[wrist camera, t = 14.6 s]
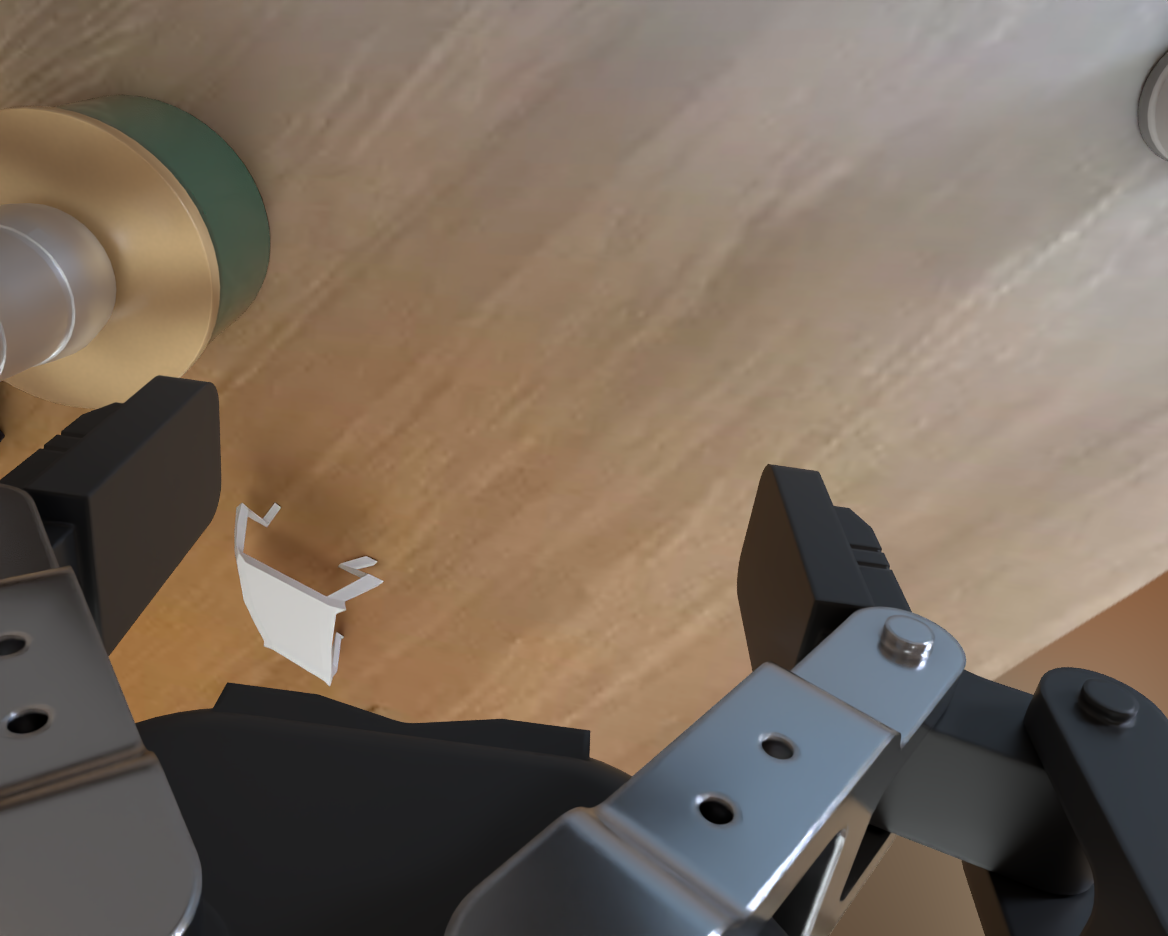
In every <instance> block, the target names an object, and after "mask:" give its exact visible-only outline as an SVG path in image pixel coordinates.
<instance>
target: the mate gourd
mask: <svg viewBox="0 0 1168 936" xmlns="http://www.w3.org/2000/svg"><path fill="white" fill-rule="evenodd" d="M4 436H5V435H4V434H3V433H2V432H1V431H0V442H1V440H2V439H3V438H4Z"/></svg>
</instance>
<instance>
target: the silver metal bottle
mask: <svg viewBox="0 0 1168 936" xmlns="http://www.w3.org/2000/svg"><path fill="white" fill-rule="evenodd" d="M115 300H116V281H115V274H114V271H113V268H112V265H111V261H110V259H109V257H108V255H107V253H106V251H105V249H104V248H103V246H102V245H101V244H100V242H99V241H98V239H97V238H96V237H95V235H94V234H93V233H92V232H91V231H90V230H89V229H88V228H87V227H86V226H85V225H84V224H82V223H81V222H79V221H78V220H77V219H75V218H74V217H72V216H71V215H69V214H67V213H65V212H63V211H61V210H59V209H57V208H54V207H50V206H47V205H43V204H34V203H18V204H4V205H0V382H1V381H3V380H5V379H7V378H9V377H12V376H14V375H16V374H18V373H20V372H22V371H25V370H27V369H29V368H31V367H34V366H38V365H43V364H46V363H49V362H53V361H56V360H58V359H61V358H64V357H66V356H69V355H71V354H74V353H76V352H78V351H79V350H81V349H83V348H84V347H86V346H87V345H88V344H89V343H90V342H91V341H92V340H93V339H94V338H95V337H96V335H97V334H98V333H99V332H100V331H101V329H102V328H103V327H104V326H105V324H106V323H107V321H108V319H109V318H110V316H111V314H112V311H113V308H114V305H115Z"/></svg>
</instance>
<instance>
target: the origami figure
mask: <svg viewBox="0 0 1168 936" xmlns="http://www.w3.org/2000/svg"><path fill="white" fill-rule="evenodd" d="M280 508H281V507H280V506H279V505H277V504H276V503H274V505H273V506H272V507H271V509H270V510H269V511H268V513H267V514H266V515H265V517H264V518H263V519H262V518H260V517H259V516H258V515H257V514H255V513H254V512H253V511H252V510H250V509H249V508H248V507H247V506H245V505H244V504H243V503H241V504H240V505H239V506H238V507H237V508H236V520H235V556H236V561H237V567H238V572H239V577H240V582H241V587H242V593H243V599H244V602H245V604H246V606H247V608H248V610H249V612H250V614H251V617H252V619H253V621H254V623H255V624H256V626H257V628H258V630H259V632H260V634H261V636H262V638H263V640H264V646H265V647H268V648H270V649H273V650H274V651H276V652H278V653H279V654H281V655H283V656H284V657H286V658H288V659H289V660H291V661H293V662H294V663H296V664H297V665H299V666H301V667H302V668H304V669H306V670H307V671H309V672H311V673H312V674H314V675H316V676H317V677H319V678H321V679H322V680H324V681H325V682H326V683H327V684H328V685H329V687H330V685H331V682H332V679H333V676H334V675H335V673H336V672H337V668H338V660H339V652H340V643H341V639H343V638H344V637H343V636H342V635H340V634H339V633H337V632H336V635H335V639H334V643H333V647H332V639H333V632H334V625H335V618H336V614H337V613H340V612H342V611H345V610H346V607H345V601H347V600H349V599H352V598H354V597H356V596H358V595H360V594H362V593H364V592H367V591H369V590H371V589H373V588H375V587H377V586H379V585H380V584H381V583H383V582H384V581H382V580H380V579H378V578H376V577H374V576H372V575H370V574H367V573H364V572H362V571H359V570H356V569H360V568H365V567H369V566H373V565H375V564H376V563H377V561H375V560H373V559H371V558H369V557H367V556H365V557H361V558H358V559H354V560H351V561H347V562H344V563H340V565H339V566H338V567H340V568H342V569H344V570H345V571H347V572H350V573H352V574H354V575H356V576H358V577H360V578H361V579H359V580H357V581H355V582H353V583H351V584H350V585H348V586H346V587H344V588H342V589H340V590H338V591H336V592H335V593H333V594H331V595H329V596H327V597H326V596H324V595H322V594H321V593H319V592H317V591H315V590H313V589H311V588H309V587H307V586H305V585H303V584H302V583H300V582H298V581H296V580H294V579H292V578H290V577H288V576H286V575H284V574H283V573H281V572H279V571H277V570H275V569H273V568H271V567H269V566H267V565H265V564H263V563H262V562H260V561H258V560H256V559H254V558H252V557H250V556H248V555H246V554H244V553H243V548H244V540H245V532H246V524H247V517H250V518H251V519H253V520H255V521H257V522H258V523H260V524H262V525H264V526H265V527H268V525H269V524H270V522H271V521H272V520H273V518H274V517H275V515H276V514H277V513H278V511H279V510H280Z"/></svg>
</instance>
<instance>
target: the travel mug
mask: <svg viewBox="0 0 1168 936" xmlns="http://www.w3.org/2000/svg"><path fill="white" fill-rule="evenodd" d="M1138 119H1139V127H1140V131H1141V134H1142V137H1143V139H1144V140H1145V142H1146V144H1147V146H1148V147H1149V148H1150V149H1151V150H1152V151H1153V152H1154V153H1155V154H1156V155H1157V156H1159V157H1161V158H1162V159H1164V160H1166V161H1168V52H1167V53H1166V54H1165V55H1164V56H1163V57H1162V58H1161V59H1160V60H1159V62H1158V63H1157V65H1156V66H1155V67H1154V69H1153V70H1152V72H1151V73H1150V75H1149V77H1148V79H1147V81H1146V83H1145V85H1144V87H1143V91H1142V94H1141V97H1140V101H1139V109H1138Z"/></svg>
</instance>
